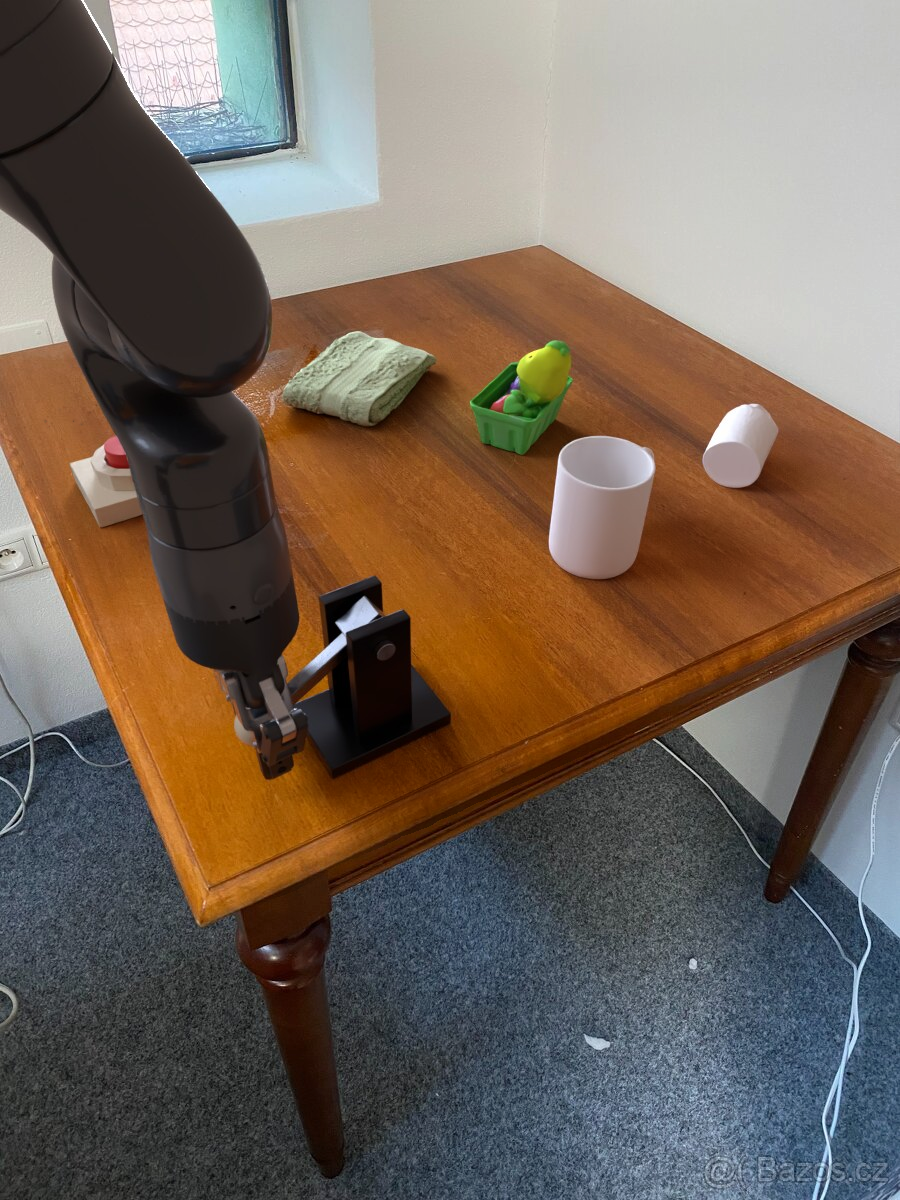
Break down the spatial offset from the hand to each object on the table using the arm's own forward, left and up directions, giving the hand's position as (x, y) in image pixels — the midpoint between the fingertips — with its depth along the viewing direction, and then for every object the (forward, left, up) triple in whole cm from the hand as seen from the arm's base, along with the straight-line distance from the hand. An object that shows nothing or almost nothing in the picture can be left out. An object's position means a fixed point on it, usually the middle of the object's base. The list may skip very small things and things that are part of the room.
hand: (267, 752), depth 62 cm
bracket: (+8, 0, -2) cm, 8 cm away
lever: (+5, 0, +4) cm, 6 cm away
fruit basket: (+42, +27, -2) cm, 51 cm away
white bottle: (+59, +11, -2) cm, 61 cm away
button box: (+2, +38, -2) cm, 39 cm away
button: (+2, +39, +2) cm, 39 cm away
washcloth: (+31, +45, -2) cm, 55 cm away
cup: (+37, +7, -2) cm, 38 cm away
